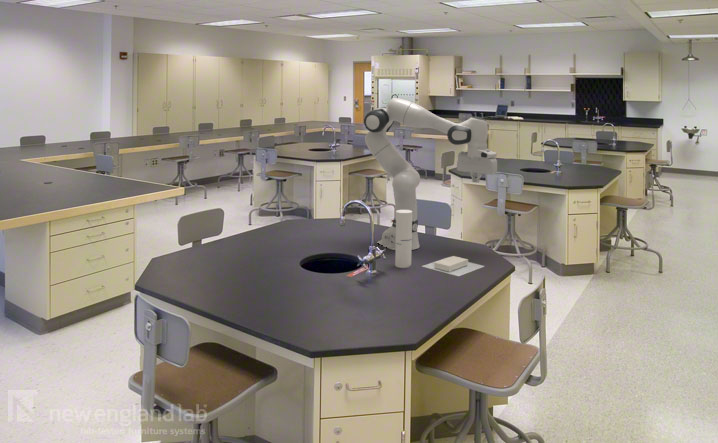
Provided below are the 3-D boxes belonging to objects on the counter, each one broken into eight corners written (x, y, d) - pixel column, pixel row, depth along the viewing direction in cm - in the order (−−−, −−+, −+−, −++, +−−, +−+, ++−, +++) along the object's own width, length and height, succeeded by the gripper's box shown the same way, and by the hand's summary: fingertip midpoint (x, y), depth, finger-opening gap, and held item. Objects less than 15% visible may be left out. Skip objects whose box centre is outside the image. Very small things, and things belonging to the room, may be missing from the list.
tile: (453, 261, 256) (434, 268, 247) (453, 255, 256) (434, 262, 246) (467, 265, 251) (449, 272, 241) (468, 259, 250) (449, 266, 241)
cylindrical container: (410, 268, 249) (411, 213, 244) (394, 267, 251) (395, 212, 245) (412, 263, 256) (413, 210, 251) (396, 262, 258) (397, 209, 252)
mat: (421, 267, 250) (421, 266, 250) (448, 258, 264) (448, 257, 264) (458, 278, 236) (458, 276, 236) (485, 267, 250) (485, 266, 250)
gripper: (454, 151, 265) (453, 180, 268) (492, 154, 251) (490, 185, 254) (462, 150, 269) (461, 179, 272) (499, 153, 255) (498, 183, 258)
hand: (475, 182), depth 263 cm, fingers closed
